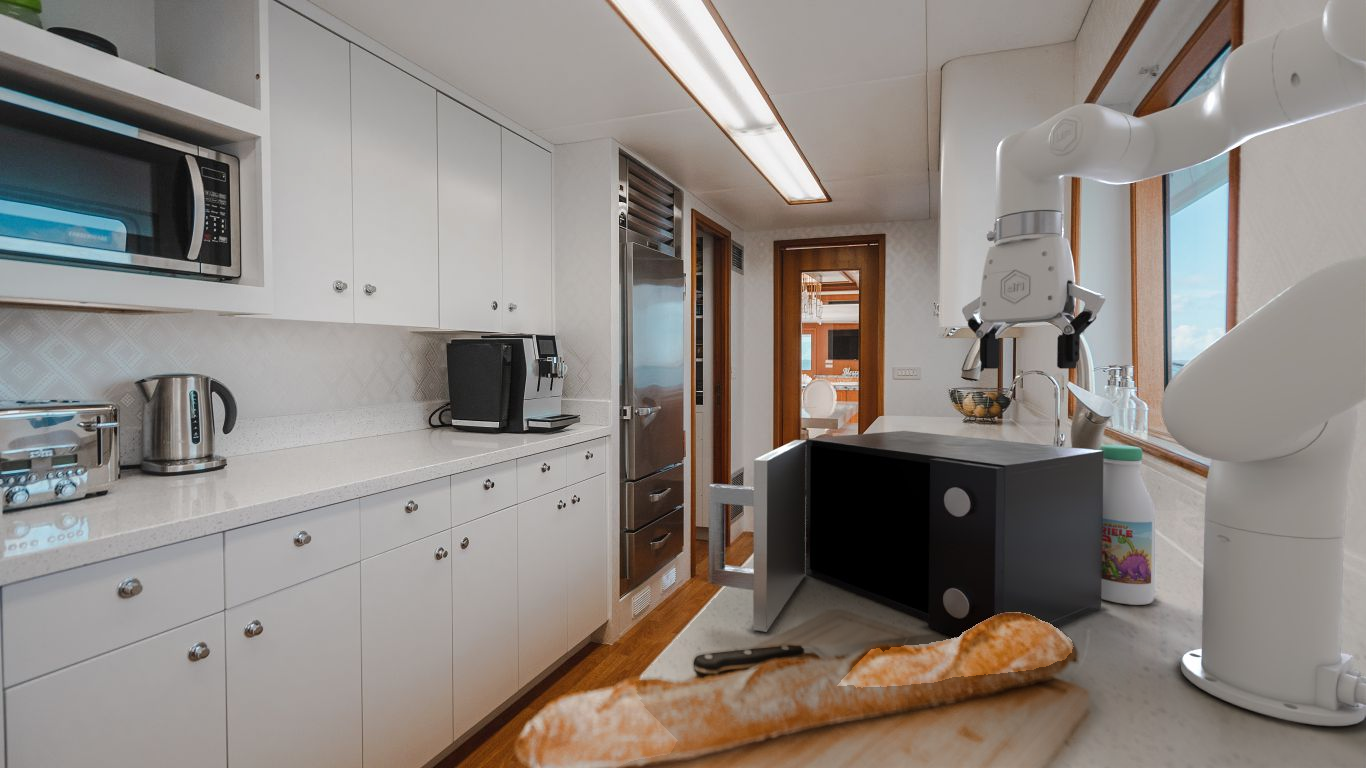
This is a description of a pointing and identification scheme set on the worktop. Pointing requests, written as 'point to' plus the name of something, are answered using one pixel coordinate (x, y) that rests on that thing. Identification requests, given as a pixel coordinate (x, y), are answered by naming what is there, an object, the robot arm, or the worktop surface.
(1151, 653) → the worktop surface
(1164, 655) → the worktop surface
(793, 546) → the microwave door
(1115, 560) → the milk bottle
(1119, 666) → the worktop surface
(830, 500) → the microwave
